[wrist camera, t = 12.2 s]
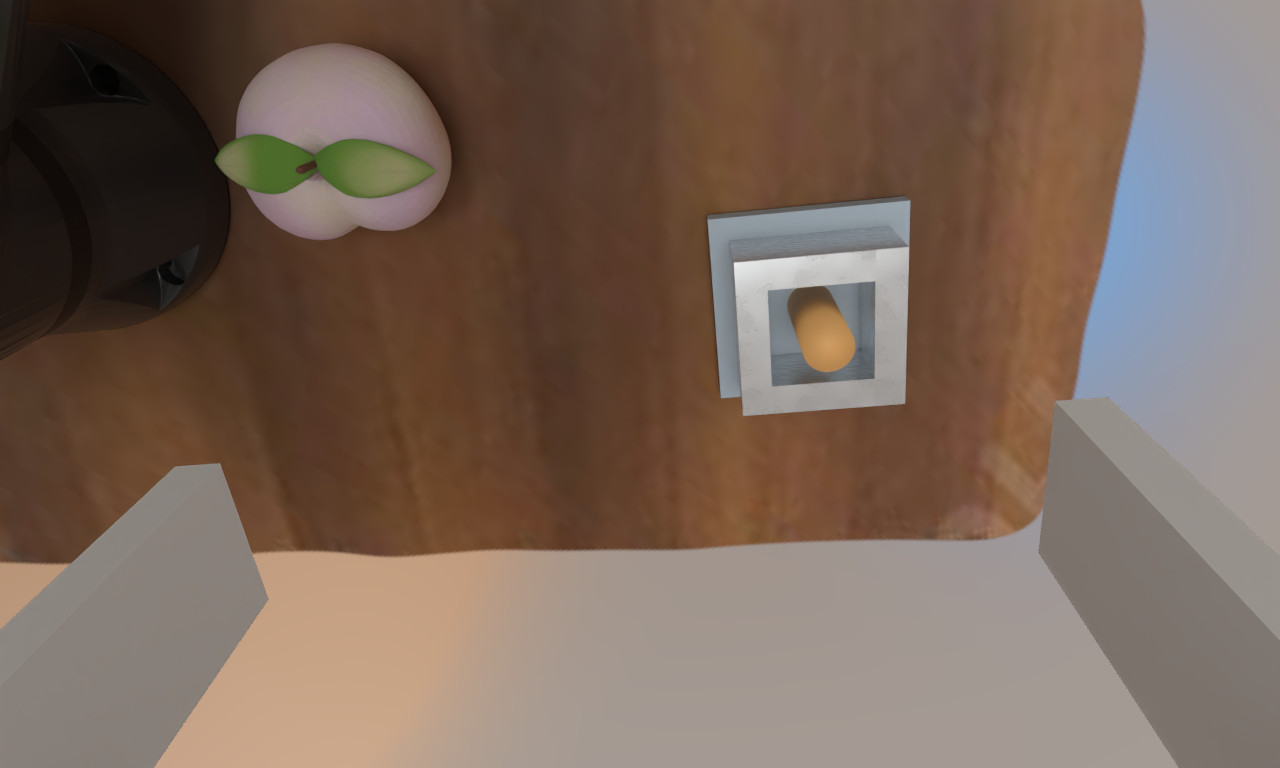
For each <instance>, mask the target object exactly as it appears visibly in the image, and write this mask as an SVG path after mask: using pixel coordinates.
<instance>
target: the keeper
mask: <svg viewBox="0 0 1280 768" xmlns="http://www.w3.org/2000/svg"><path fill="white" fill-rule="evenodd" d="M707 220H708V234H709V247H710V260H711V274H712V287H713V301H714V314H715V328H716V341H717V354H718V368H719V381H720V393H721V398H732V397H740V392H739V385H738V373H737V357H736V342H735V326H734V310H733V294H732V279H731V263H730V247H729V240H737V239H748V238H759V237H770V236H781V235H792V234H802V233H813V232H824V231H835V230H846V229H857V228H867V227H878V226H890V227H891V228H892V229H893V230H894V231H895V232H896V233H897V234H898V235H899V236H900V238H901V239H902V240H903V241H904V242H905V243H906V244H907V245H908V246H909V231H910V200H909V199H908V198H907V197H906V196H901V197H891V198H880V199H870V200H860V201H849V202H839V203H828V204H818V205H808V206H797V207H787V208H776V209H766V210H755V211H745V212H735V213H724V214H714V215H707ZM768 310H769V332H770V354H771V355H778V354H790V353H803V356H804V359H805V360H806V362H807V363H808V364H809V365H810V366H811V367H812V368H814V369H815V370H818V371H822V372H833V371H837V370H839V369H841V368H843V367H844V366H846V365H847V364H848V363H849V362H850V360H851V359H852V357H853V355H854V353H855V348H859V283H848V284H837V285H825V286H814V287H802V288H791V289H779V290H768Z"/></svg>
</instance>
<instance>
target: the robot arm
mask: <svg viewBox="0 0 1280 768" xmlns="http://www.w3.org/2000/svg"><path fill="white" fill-rule="evenodd" d="M29 4H30V0H0V360H2V359H3V358H5V357H7V356H9V355H11V354H12V353H14V352H16V351H18V350H20V349H21V348H23V347H25V346H27V345H28V344H30V343H32V342H34V341H36V340H37V339H39V338H41V337H43V336H45V335H51V334H63V333H75V332H87V331H99V330H110V329H118V328H124V327H128V326H132V325H135V324H139V323H142V322H145V321H147V320H150V319H152V318H154V317H156V316H158V315H160V314H162V313H164V312H165V311H167V310H169V309H170V308H172V307H174V306H175V305H177V304H179V303H180V302H182V301H183V300H185V299H187V298H188V297H189V296H191V295H192V294H193V293H194V292H195V291H197V290H198V289H199V288H200V287H201V286H202V285H203V283H204V282H205V281H206V280H207V279H208V277H209V276H210V275H211V273H212V272H213V270H214V268H215V267H216V265H217V263H218V261H219V259H220V256H221V254H222V251H223V248H224V245H225V241H226V237H227V232H228V224H229V196H228V188H227V183H226V178H225V174H224V173H223V172H222V171H221V169H220V168H219V167H218V165H217V164H216V162H215V158H216V157H217V155H218V152H217V150H216V147H215V145H214V142H213V140H212V138H211V136H210V134H209V132H208V131H207V129H206V127H205V125H204V124H203V122H202V120H201V119H200V117H199V116H198V114H197V112H196V111H195V110H194V108H193V107H192V106H191V104H190V103H189V101H188V100H187V99H186V98H185V97H184V95H183V94H182V93H181V92H180V91H179V89H178V88H177V87H176V86H175V85H174V84H173V83H172V82H171V81H170V80H169V79H168V78H167V77H166V76H165V75H164V74H163V73H162V72H160V71H159V70H158V69H157V68H156V67H154V66H153V65H152V64H151V63H150V62H148V61H147V60H146V59H144V58H143V57H141V56H140V55H139V54H137V53H136V52H134V51H132V50H131V49H129V48H128V47H126V46H124V45H122V44H121V43H119V42H117V41H115V40H113V39H111V38H109V37H106V36H104V35H102V34H99V33H97V32H94V31H91V30H88V29H85V28H81V27H77V26H73V25H69V24H63V23H55V22H27V20H28V12H29ZM1039 554H1040V555H1041V557H1042V559H1043V560H1044V562H1045V563H1046V565H1047V566H1048V568H1049V569H1050V571H1051V572H1052V574H1053V575H1054V577H1055V579H1056V580H1057V582H1058V583H1059V585H1060V586H1061V588H1062V589H1063V591H1064V592H1065V594H1066V595H1067V597H1068V598H1069V600H1070V602H1071V603H1072V605H1073V606H1074V607H1075V609H1076V611H1077V612H1078V614H1079V615H1080V617H1081V618H1082V620H1083V621H1084V623H1085V625H1086V626H1087V628H1088V629H1089V631H1090V632H1091V634H1092V635H1093V637H1094V638H1095V640H1096V641H1097V643H1098V644H1099V646H1100V648H1101V649H1102V651H1103V652H1104V654H1105V655H1106V657H1107V658H1108V660H1109V661H1110V663H1111V664H1112V666H1113V667H1114V669H1115V670H1116V672H1117V674H1118V675H1119V677H1120V678H1121V680H1122V681H1123V683H1124V684H1125V686H1126V687H1127V689H1128V690H1129V692H1130V693H1131V695H1132V697H1133V698H1134V700H1135V701H1136V703H1137V704H1138V706H1139V707H1140V709H1141V710H1142V712H1143V713H1144V715H1145V716H1146V718H1147V720H1148V721H1149V723H1150V724H1151V726H1152V727H1153V729H1154V730H1155V732H1156V733H1157V735H1158V736H1159V738H1160V739H1161V741H1162V743H1163V744H1164V746H1165V747H1166V749H1167V750H1168V752H1169V753H1170V755H1171V756H1172V758H1173V759H1174V761H1175V762H1176V764H1177V766H1178V767H1179V768H1280V556H1279V555H1278V554H1277V553H1276V552H1275V551H1274V550H1273V549H1272V548H1271V547H1270V546H1269V545H1267V544H1266V543H1265V542H1264V541H1263V540H1262V539H1261V538H1260V537H1259V536H1258V535H1257V534H1256V533H1255V532H1253V531H1252V530H1251V529H1250V528H1249V527H1248V526H1247V525H1246V524H1245V523H1244V522H1243V521H1242V520H1240V519H1239V518H1238V517H1237V516H1236V515H1235V514H1234V513H1233V512H1232V511H1231V510H1230V509H1228V508H1227V507H1226V506H1225V505H1224V504H1223V503H1222V502H1221V501H1220V500H1219V499H1218V498H1217V497H1216V496H1215V495H1213V494H1212V493H1211V492H1210V491H1209V490H1208V489H1207V488H1206V487H1205V486H1204V485H1203V484H1201V483H1200V482H1199V481H1198V480H1197V479H1196V478H1195V477H1194V476H1193V475H1192V474H1191V473H1189V472H1188V471H1187V470H1186V469H1185V468H1184V467H1183V466H1182V465H1181V464H1180V463H1179V462H1178V461H1177V460H1176V459H1174V458H1173V457H1172V456H1171V455H1170V454H1169V453H1168V452H1167V451H1166V450H1165V449H1164V448H1162V446H1160V445H1159V444H1158V443H1157V442H1156V441H1155V440H1154V439H1153V438H1152V437H1151V436H1150V435H1149V434H1147V433H1146V432H1145V431H1144V430H1143V429H1142V428H1141V427H1140V426H1139V425H1138V424H1137V423H1136V422H1134V421H1133V420H1132V419H1131V418H1130V417H1129V416H1128V415H1127V414H1126V413H1125V412H1124V411H1123V410H1121V409H1120V408H1119V407H1118V406H1117V405H1116V404H1115V403H1114V402H1113V401H1112V400H1111V399H1110V398H1109V397H1103V398H1090V399H1076V400H1063V401H1055V406H1054V416H1053V425H1052V434H1051V443H1050V452H1049V461H1048V471H1047V480H1046V489H1045V498H1044V507H1043V518H1042V526H1041V535H1040V545H1039ZM267 601H268V597H267V594H266V591H265V588H264V585H263V582H262V580H261V577H260V574H259V571H258V569H257V566H256V563H255V560H254V558H253V554H252V552H251V549H250V546H249V543H248V540H247V538H246V535H245V532H244V529H243V526H242V524H241V521H240V518H239V515H238V512H237V510H236V507H235V504H234V501H233V498H232V496H231V493H230V490H229V487H228V484H227V482H226V479H225V476H224V473H223V470H222V468H221V465H220V463H217V464H204V465H190V466H177V467H174V468H173V469H172V470H171V471H170V472H169V473H168V474H167V475H166V476H165V477H163V478H162V479H161V480H160V481H159V482H158V483H157V484H156V485H155V486H154V487H153V488H152V489H151V490H150V491H148V492H147V493H146V494H145V495H144V496H143V497H142V498H141V499H140V500H139V501H138V502H137V503H136V504H135V505H133V506H132V507H131V508H130V509H129V510H128V511H127V512H126V513H125V514H124V515H123V516H122V517H121V518H119V519H118V520H117V521H116V522H115V523H114V524H113V525H112V526H111V527H110V528H109V529H108V530H107V531H106V532H104V533H103V534H102V535H101V536H100V537H99V538H98V539H97V540H96V541H95V542H94V543H93V544H92V545H90V546H89V547H88V548H87V549H86V550H85V551H84V552H83V553H82V554H81V555H80V556H79V557H78V558H77V559H75V560H74V561H73V562H72V563H71V564H70V565H69V566H68V567H67V568H66V569H65V570H64V571H63V572H62V573H60V574H59V575H58V576H57V577H56V578H55V579H54V580H53V581H52V582H51V583H50V584H49V585H48V586H47V587H45V588H44V589H43V590H42V591H41V592H40V593H39V594H38V595H37V596H36V597H35V598H34V599H33V600H31V602H29V603H28V604H27V605H26V606H25V607H24V608H23V609H22V610H21V611H20V612H19V613H18V614H16V616H14V617H13V618H12V619H11V620H10V621H9V622H8V623H7V624H6V625H5V626H4V627H3V628H1V629H0V768H154V767H155V765H156V764H157V762H158V761H159V759H160V758H161V756H162V755H163V753H164V752H165V751H166V749H167V748H168V746H169V745H170V743H171V742H172V740H173V739H174V737H175V736H176V734H177V733H178V731H179V730H180V729H181V727H182V726H183V724H184V723H185V721H186V719H187V718H188V717H189V715H190V714H191V712H192V711H193V709H194V708H195V706H196V705H197V704H198V702H199V700H200V699H201V698H202V696H203V695H204V693H205V692H206V690H207V689H208V687H209V686H210V684H211V683H212V681H213V680H214V679H215V677H216V675H217V674H218V673H219V671H220V670H221V668H222V667H223V665H224V664H225V662H226V661H227V659H228V658H229V657H230V655H231V654H232V652H233V651H234V649H235V647H236V646H237V645H238V643H239V642H240V640H241V639H242V637H243V636H244V634H245V633H246V631H247V630H248V629H249V627H250V625H251V624H252V623H253V621H254V620H255V618H256V617H257V615H258V614H259V612H260V611H261V609H262V608H263V607H264V605H265V604H266V602H267Z"/></svg>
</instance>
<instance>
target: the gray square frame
mask: <svg viewBox="0 0 1280 768" xmlns="http://www.w3.org/2000/svg"><path fill="white" fill-rule="evenodd" d="M729 247H730V263H731V279H732V294H733V310H734V326H735V342H736V357H737V373H738V385H739V392H740V398H741V405H742V411H743V416H749V415H762V414H775V413H788V412H802V411H815V410H828V409H842V408H855V407H868V406H881V405H895V404H905V387H906V349H907V311H908V273H909V246H908V245H907V244H906V243H905V242H904V241H903V240H902V239H901V238H900V236H899V235H898V234H897V233H896V232H895V231H894V230H893V229H892V228H891V227H890V226H878V227H867V228H857V229H846V230H835V231H824V232H813V233H802V234H792V235H781V236H770V237H759V238H748V239H737V240H729ZM848 283H859V348H855V353H854V355H853V357H852V359H851V360H850V362H849V363H848V364H847V365H846V366H844V367H843V368H841V369H839V370H837V371H833V372H822V371H818V370H815V369H814V368H812V367H811V366H810V365H809V364H808V363H807V362H806V360H805V359H804V356H803V353H790V354H778V355H771V354H770V332H769V310H768V290H779V289H791V288H802V287H814V286H825V285H837V284H848Z"/></svg>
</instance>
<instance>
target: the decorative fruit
mask: <svg viewBox="0 0 1280 768" xmlns="http://www.w3.org/2000/svg"><path fill="white" fill-rule="evenodd" d="M215 162H216V164H217V165H218V167H219V168H220V169H221V171H222V172H223V173H224V174H225V175H227V176H228V177H229V178H230V179H232V180H233V181H235V182H236V183H238V184H239V185H241V186H243V187H245V188H246V190H247V192H248V194H249V195H250V197H251V199H252V200H253V202H254V203H255V205H256V206H257V207H258V208H259V210H260V211H261V212H262V213H263V214H264V215H265V216H266V217H267V218H268V219H269V220H270V221H272V222H273V223H274V224H275V225H277V226H278V227H279V228H281V229H283V230H285V231H287V232H289V233H292V234H294V235H296V236H299V237H303V238H307V239H313V240H329V239H334V238H337V237H341V236H343V235H345V234H347V233H349V232H350V231H352V230H354V229H355V228H357V227H358V226H362V227H365V228H368V229H372V230H380V231H397V230H402V229H406V228H408V227H411V226H413V225H415V224H417V223H418V222H420V221H421V220H423V219H424V218H426V217H427V216H428V215H429V214H430V213H431V212H432V211H433V210H434V209H435V208H436V206H437V205H438V203H439V202H440V200H441V199H442V197H443V195H444V193H445V190H446V188H447V185H448V182H449V178H450V174H451V165H452V160H451V147H450V142H449V139H448V135H447V133H446V130H445V127H444V125H443V123H442V121H441V118H440V117H439V115H438V113H437V111H436V109H435V108H434V106H433V104H432V103H431V101H430V100H429V98H428V97H427V95H426V94H425V92H424V91H423V90H422V89H421V87H420V86H419V85H418V84H417V83H416V82H415V81H414V79H413V78H412V77H411V76H409V75H408V74H407V73H406V72H405V71H404V70H403V69H402V68H401V67H399V66H398V65H397V64H396V63H394V62H393V61H391V60H390V59H388V58H387V57H385V56H383V55H381V54H379V53H376V52H374V51H371V50H368V49H365V48H362V47H359V46H354V45H350V44H342V43H327V44H319V45H313V46H308V47H304V48H300V49H296V50H294V51H292V52H289V53H287V54H285V55H283V56H282V57H280V58H278V59H276V60H275V61H273V62H272V63H270V64H269V65H267V66H266V67H265V68H264V69H262V70H261V71H260V72H259V73H258V74H257V75H256V76H255V77H254V78H253V80H252V81H251V82H250V84H249V85H248V87H247V89H246V90H245V92H244V94H243V96H242V99H241V101H240V104H239V107H238V112H237V121H236V139H235V140H233V141H231V142H229V143H228V144H227V145H225V146H224V147H223V148H222V149H221V150H220V151H219V153H218V155H217V157H216V158H215Z"/></svg>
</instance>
